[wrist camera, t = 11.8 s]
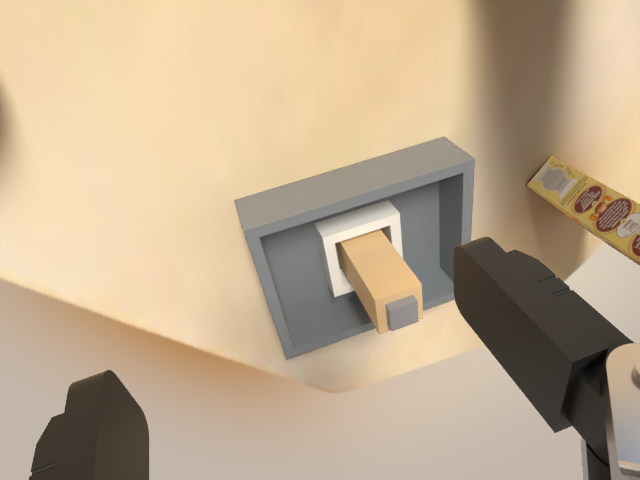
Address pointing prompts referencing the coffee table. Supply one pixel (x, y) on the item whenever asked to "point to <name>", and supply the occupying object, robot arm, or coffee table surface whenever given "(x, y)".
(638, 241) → the candy box
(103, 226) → the coffee table surface
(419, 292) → the connector
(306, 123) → the coffee table surface
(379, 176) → the box
